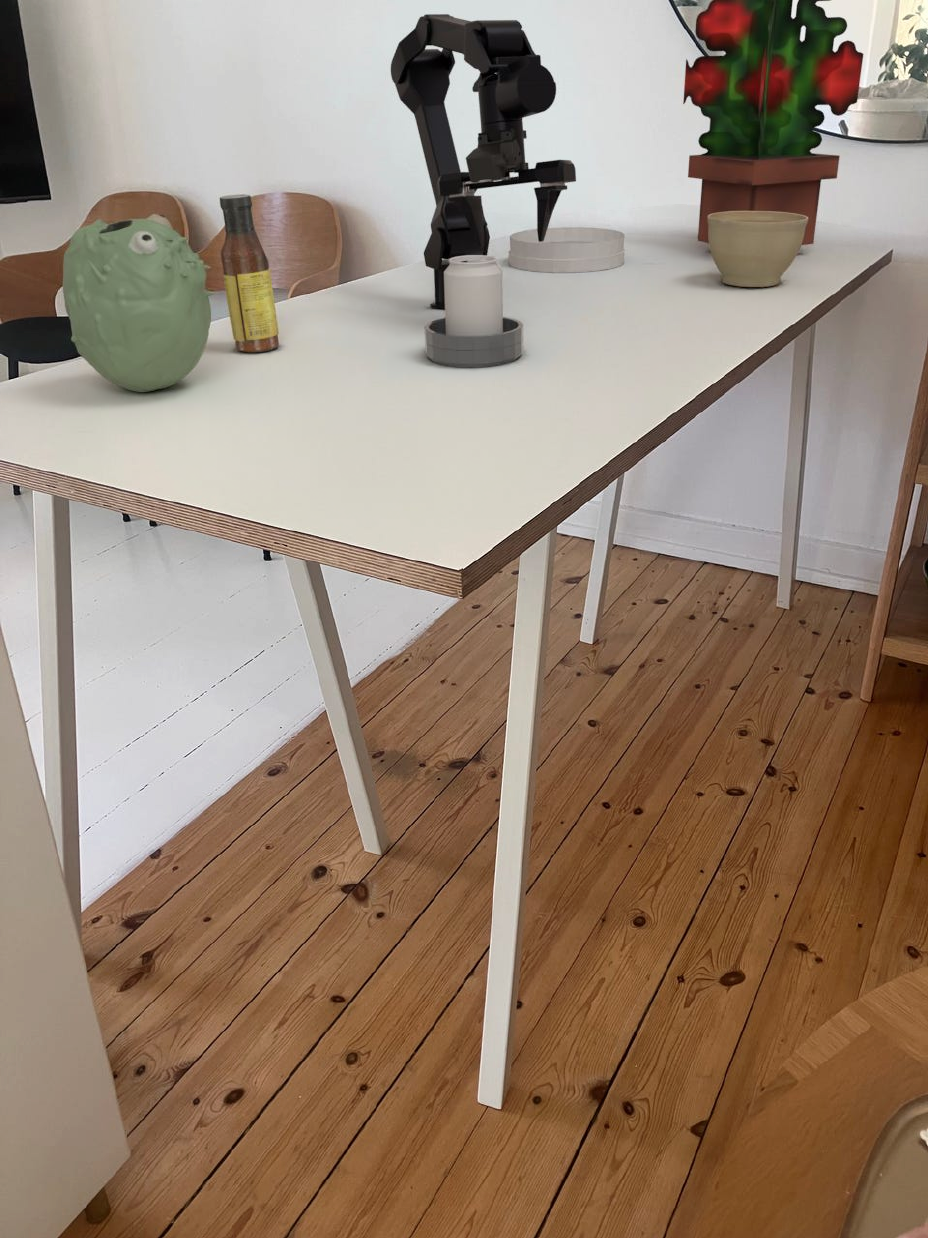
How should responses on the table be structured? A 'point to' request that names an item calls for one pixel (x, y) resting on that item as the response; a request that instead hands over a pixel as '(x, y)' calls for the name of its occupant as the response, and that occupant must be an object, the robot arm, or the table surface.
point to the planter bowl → (754, 245)
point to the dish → (567, 250)
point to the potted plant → (767, 105)
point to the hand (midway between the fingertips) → (510, 244)
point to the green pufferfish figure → (136, 301)
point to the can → (473, 296)
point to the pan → (474, 345)
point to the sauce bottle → (247, 279)
